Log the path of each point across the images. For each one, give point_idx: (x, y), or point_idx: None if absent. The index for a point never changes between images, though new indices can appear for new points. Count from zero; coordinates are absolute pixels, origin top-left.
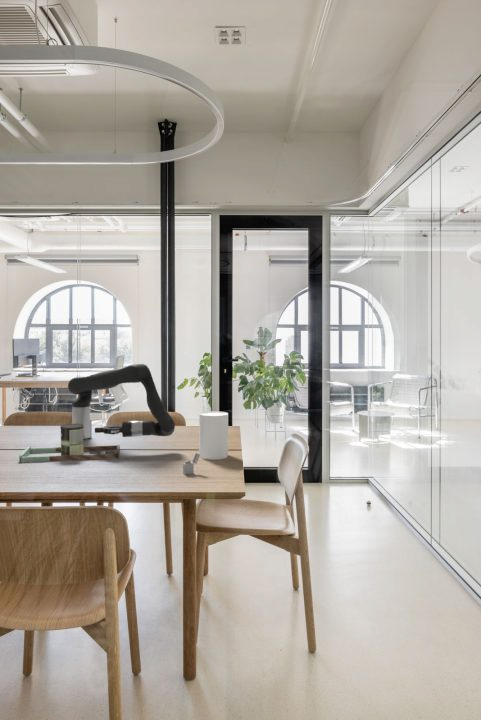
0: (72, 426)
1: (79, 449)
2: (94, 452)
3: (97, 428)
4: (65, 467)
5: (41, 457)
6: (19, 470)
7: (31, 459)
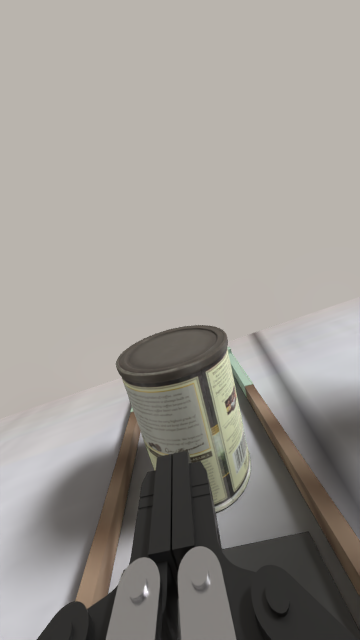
0: (156, 350)
1: None
2: None
3: (156, 480)
4: (16, 501)
5: None
6: (75, 404)
7: None
